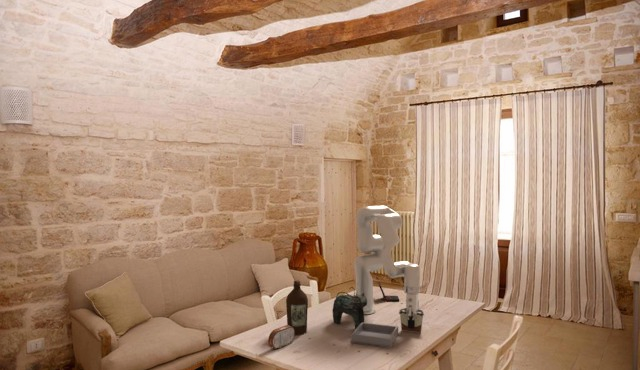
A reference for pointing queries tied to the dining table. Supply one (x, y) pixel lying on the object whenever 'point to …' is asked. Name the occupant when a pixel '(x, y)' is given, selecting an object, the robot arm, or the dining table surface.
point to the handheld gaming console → (389, 298)
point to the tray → (375, 335)
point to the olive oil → (297, 309)
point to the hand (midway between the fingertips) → (412, 325)
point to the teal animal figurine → (349, 307)
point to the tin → (281, 336)
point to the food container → (417, 318)
